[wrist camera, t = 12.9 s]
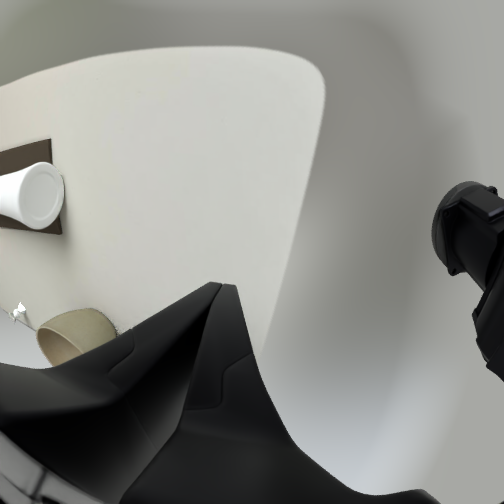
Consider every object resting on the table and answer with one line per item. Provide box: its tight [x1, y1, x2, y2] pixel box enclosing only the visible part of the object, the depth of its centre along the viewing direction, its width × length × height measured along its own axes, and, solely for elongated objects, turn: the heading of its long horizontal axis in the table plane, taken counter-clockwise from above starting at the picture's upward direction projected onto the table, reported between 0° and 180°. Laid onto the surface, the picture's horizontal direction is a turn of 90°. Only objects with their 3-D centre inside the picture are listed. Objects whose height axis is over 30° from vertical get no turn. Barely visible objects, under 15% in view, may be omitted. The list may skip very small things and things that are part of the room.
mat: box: [0, 139, 62, 235], centre depth 22 cm, size 16×10×1 cm, turn 87°
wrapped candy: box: [9, 304, 25, 323], centre depth 31 cm, size 2×2×3 cm
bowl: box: [36, 309, 116, 367], centre depth 25 cm, size 10×10×7 cm
